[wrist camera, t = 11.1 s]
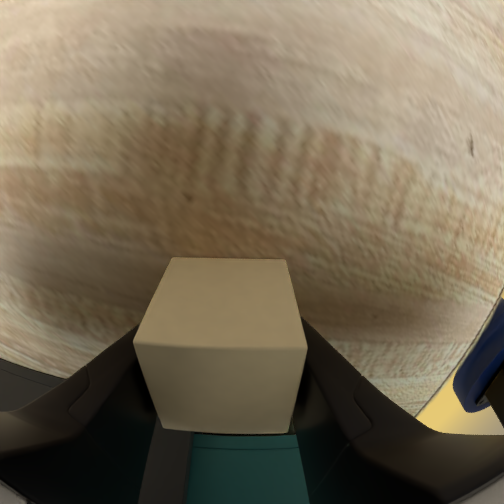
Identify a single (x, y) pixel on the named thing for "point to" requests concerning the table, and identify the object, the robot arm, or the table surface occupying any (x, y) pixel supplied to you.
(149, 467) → the drawer cabinet
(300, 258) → the table surface
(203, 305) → the block
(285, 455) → the teal drawer
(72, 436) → the robot arm
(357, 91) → the table surface
